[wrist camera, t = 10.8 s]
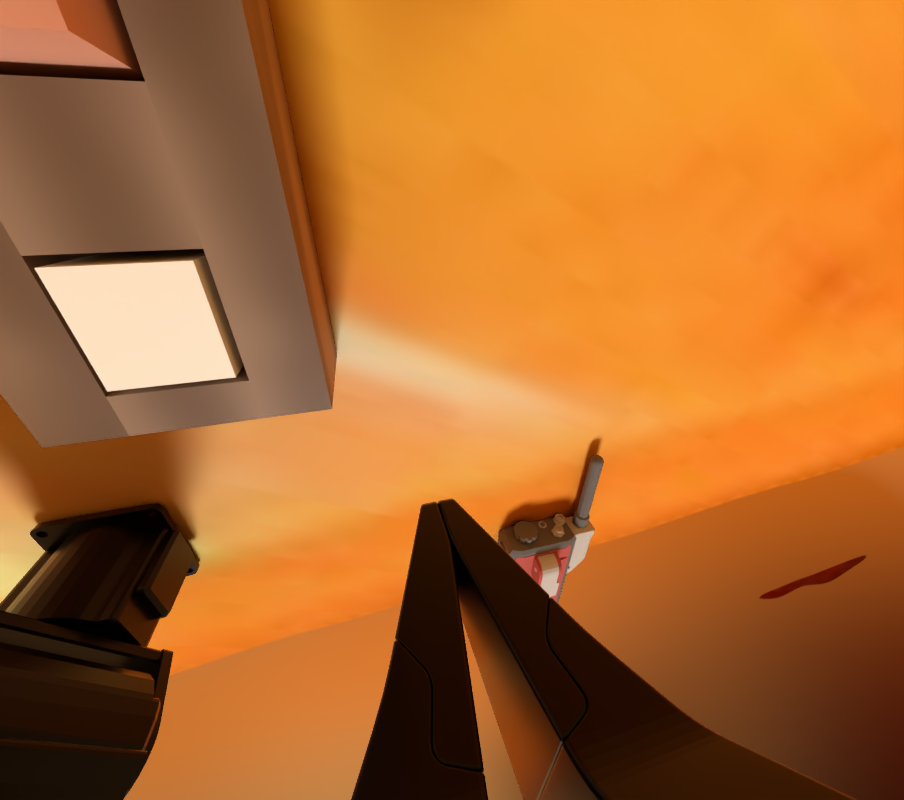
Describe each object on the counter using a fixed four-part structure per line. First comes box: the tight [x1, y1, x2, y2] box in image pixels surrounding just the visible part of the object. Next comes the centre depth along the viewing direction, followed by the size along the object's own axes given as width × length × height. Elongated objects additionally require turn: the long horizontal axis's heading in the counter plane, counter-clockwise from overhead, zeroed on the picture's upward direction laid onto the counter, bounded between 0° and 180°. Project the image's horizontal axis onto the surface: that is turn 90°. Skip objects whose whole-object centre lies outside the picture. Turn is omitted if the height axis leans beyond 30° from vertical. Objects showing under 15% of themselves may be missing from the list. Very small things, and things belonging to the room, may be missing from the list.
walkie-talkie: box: [498, 455, 604, 603], centre depth 31 cm, size 9×4×20 cm
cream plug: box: [35, 249, 244, 392], centre depth 14 cm, size 4×4×6 cm
